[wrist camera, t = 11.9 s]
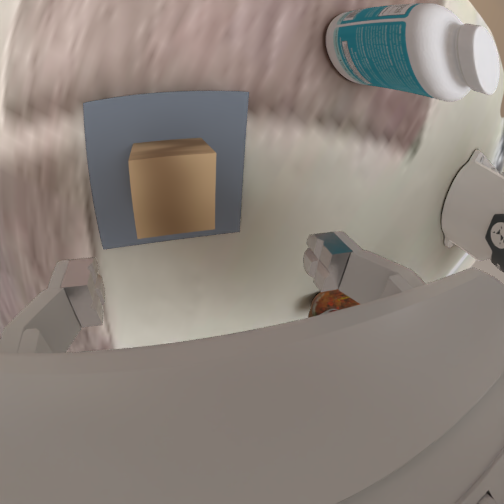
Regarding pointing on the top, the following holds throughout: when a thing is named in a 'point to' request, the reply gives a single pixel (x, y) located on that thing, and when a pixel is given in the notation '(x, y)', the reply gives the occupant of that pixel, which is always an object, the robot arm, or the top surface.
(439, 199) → the top surface
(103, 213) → the mat
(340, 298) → the tin
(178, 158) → the cube
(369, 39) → the pill bottle
